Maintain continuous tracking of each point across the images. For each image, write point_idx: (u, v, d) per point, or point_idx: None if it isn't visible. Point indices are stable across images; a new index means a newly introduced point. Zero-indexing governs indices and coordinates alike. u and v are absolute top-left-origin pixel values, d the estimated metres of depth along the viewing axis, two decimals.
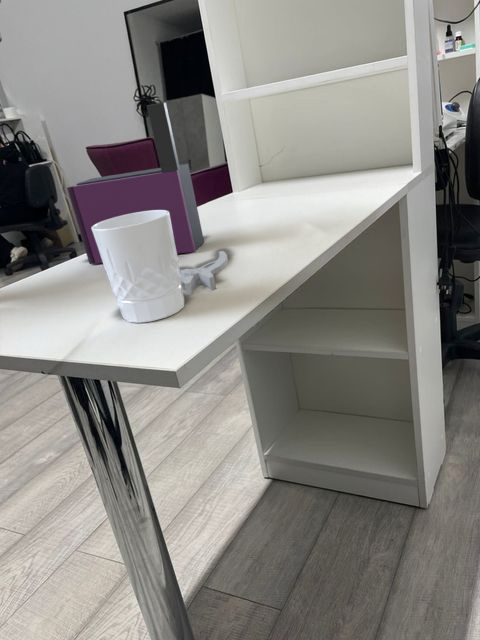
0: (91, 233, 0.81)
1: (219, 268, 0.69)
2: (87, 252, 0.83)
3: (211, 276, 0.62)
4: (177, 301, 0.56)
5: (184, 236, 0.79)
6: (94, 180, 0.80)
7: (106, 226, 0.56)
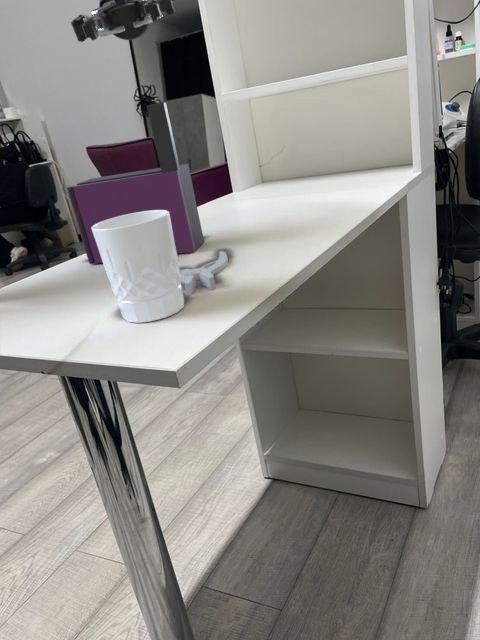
0: (91, 233, 0.81)
1: (219, 268, 0.69)
2: (87, 252, 0.83)
3: (211, 276, 0.62)
4: (177, 301, 0.56)
5: (184, 236, 0.79)
6: (94, 180, 0.80)
7: (106, 226, 0.56)
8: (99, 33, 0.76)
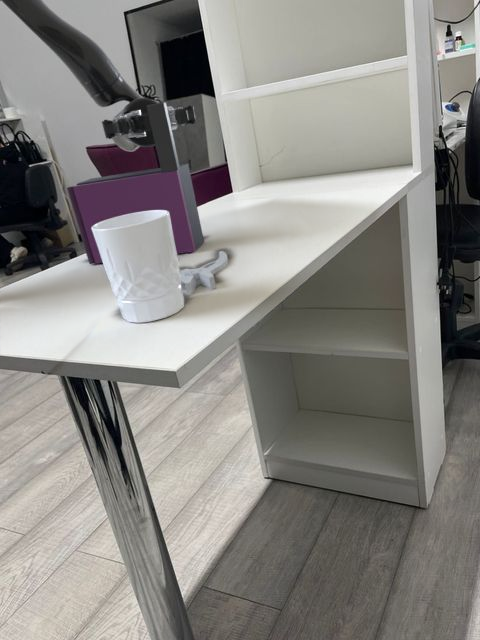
0: (91, 233, 0.81)
1: (219, 268, 0.69)
2: (87, 252, 0.83)
3: (211, 276, 0.62)
4: (177, 301, 0.56)
5: (184, 236, 0.79)
6: (94, 180, 0.80)
7: (106, 226, 0.56)
8: None
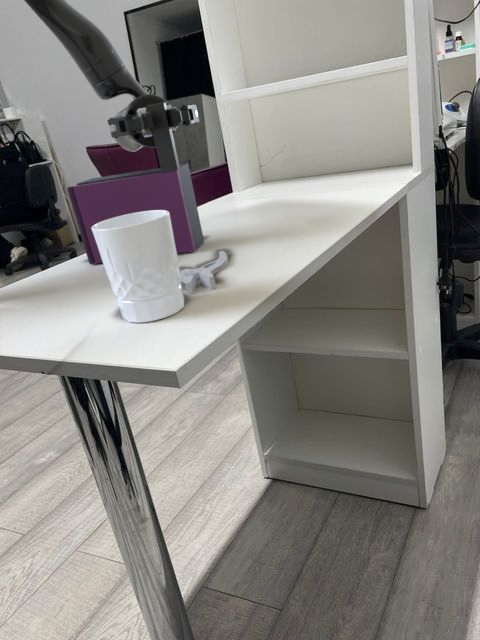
0: (91, 233, 0.81)
1: (219, 268, 0.69)
2: (87, 252, 0.83)
3: (211, 276, 0.62)
4: (177, 301, 0.56)
5: (184, 236, 0.79)
6: (94, 180, 0.80)
7: (106, 226, 0.56)
8: None
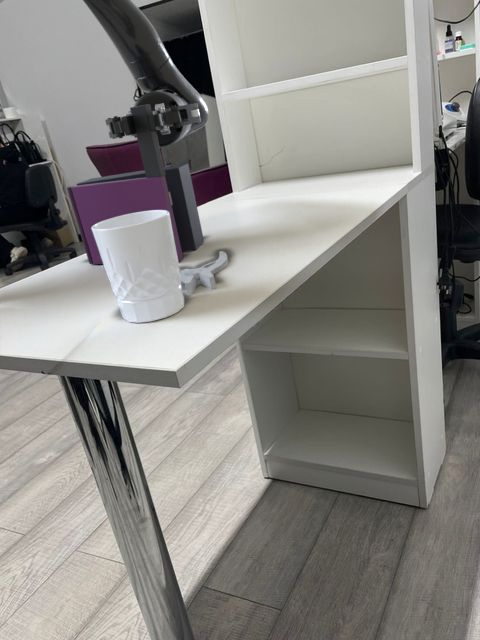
0: (88, 234, 0.81)
1: (219, 268, 0.69)
2: (86, 252, 0.83)
3: (211, 276, 0.62)
4: (177, 301, 0.56)
5: None
6: (94, 180, 0.80)
7: (106, 226, 0.56)
8: None
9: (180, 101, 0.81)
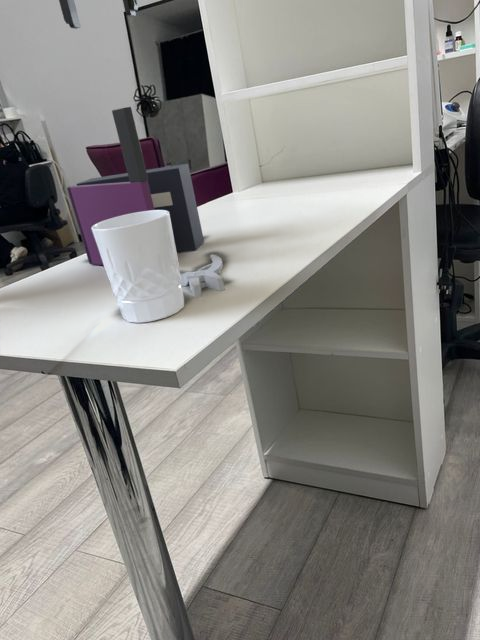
0: (86, 234, 0.81)
1: (218, 270, 0.68)
2: (86, 252, 0.83)
3: (219, 277, 0.61)
4: (177, 301, 0.56)
5: None
6: (94, 180, 0.80)
7: (106, 226, 0.56)
8: None
9: None
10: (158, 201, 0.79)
